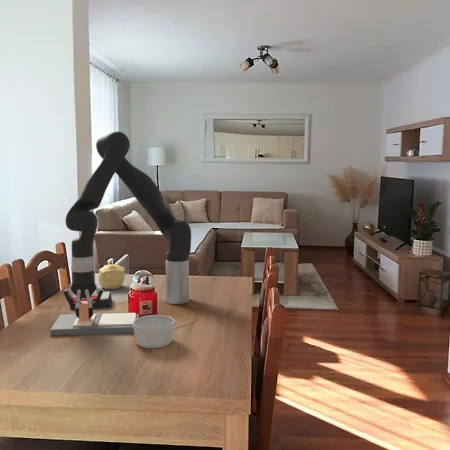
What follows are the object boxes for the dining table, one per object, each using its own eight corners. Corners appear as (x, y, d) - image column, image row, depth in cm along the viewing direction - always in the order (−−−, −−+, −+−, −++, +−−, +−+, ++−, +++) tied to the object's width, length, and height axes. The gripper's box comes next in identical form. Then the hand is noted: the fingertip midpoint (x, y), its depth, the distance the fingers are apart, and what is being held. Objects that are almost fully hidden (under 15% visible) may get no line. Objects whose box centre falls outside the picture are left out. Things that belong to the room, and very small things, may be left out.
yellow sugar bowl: (100, 292, 220) (100, 267, 219) (96, 285, 231) (95, 262, 230) (127, 289, 225) (126, 265, 223) (121, 283, 235) (121, 260, 234)
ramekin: (140, 353, 153) (140, 330, 152) (127, 339, 165) (127, 318, 164) (181, 345, 159) (181, 324, 158) (166, 332, 171) (166, 312, 170)
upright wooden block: (96, 314, 182) (95, 297, 181) (91, 326, 170) (90, 307, 169) (79, 315, 182) (78, 297, 181) (72, 326, 170) (72, 308, 169)
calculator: (73, 293, 206) (111, 290, 208) (74, 303, 207) (111, 300, 209) (69, 300, 195) (109, 297, 197) (70, 311, 196) (110, 308, 198)
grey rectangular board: (139, 317, 186) (139, 311, 186) (136, 332, 170) (136, 325, 170) (60, 319, 183) (60, 313, 183) (50, 335, 167) (50, 328, 167)
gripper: (105, 266, 178) (106, 314, 180) (64, 266, 176) (66, 315, 179) (102, 271, 170) (104, 320, 173) (59, 271, 169) (61, 322, 171)
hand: (84, 317), depth 176 cm, fingers closed on upright wooden block, 3 cm apart
